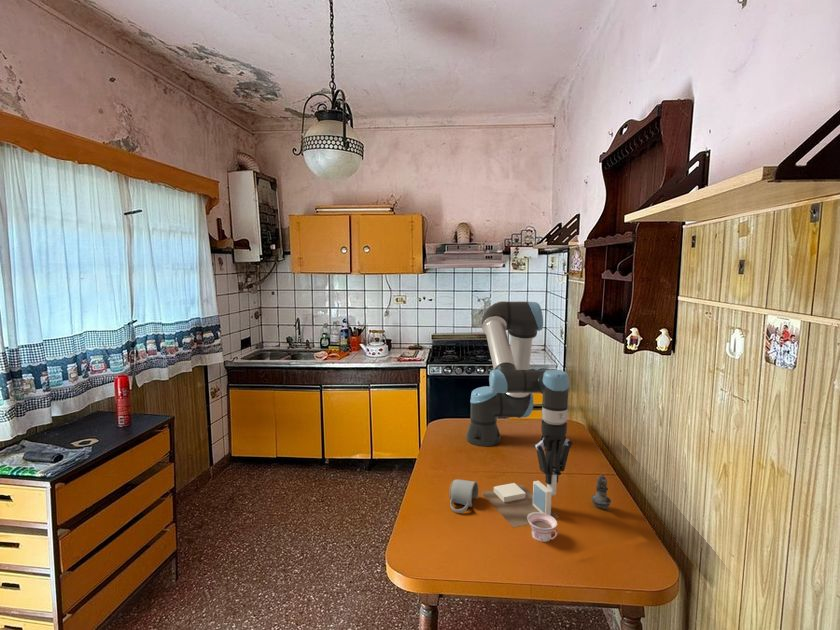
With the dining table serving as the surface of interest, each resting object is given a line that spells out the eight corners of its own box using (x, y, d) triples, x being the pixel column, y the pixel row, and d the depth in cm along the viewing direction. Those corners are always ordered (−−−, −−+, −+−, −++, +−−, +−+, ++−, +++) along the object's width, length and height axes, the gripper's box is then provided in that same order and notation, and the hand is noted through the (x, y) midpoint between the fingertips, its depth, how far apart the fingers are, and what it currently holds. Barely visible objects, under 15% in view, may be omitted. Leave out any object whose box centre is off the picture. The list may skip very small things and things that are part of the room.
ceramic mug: (455, 494, 147) (455, 473, 146) (478, 499, 143) (479, 478, 142) (444, 511, 137) (444, 488, 136) (469, 517, 134) (469, 494, 133)
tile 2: (532, 505, 138) (532, 481, 137) (537, 504, 139) (538, 480, 138) (545, 517, 132) (546, 492, 131) (550, 515, 132) (551, 491, 131)
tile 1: (514, 488, 148) (493, 492, 146) (514, 482, 148) (493, 486, 146) (525, 498, 142) (504, 502, 139) (525, 493, 142) (504, 497, 139)
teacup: (511, 539, 123) (512, 519, 122) (535, 522, 131) (536, 503, 130) (549, 560, 114) (550, 538, 114) (572, 541, 122) (572, 520, 122)
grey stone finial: (586, 506, 139) (588, 471, 138) (600, 503, 142) (602, 468, 140) (600, 516, 134) (602, 480, 133) (614, 512, 136) (616, 476, 135)
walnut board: (480, 495, 146) (480, 491, 146) (521, 487, 151) (521, 484, 151) (513, 531, 126) (513, 527, 126) (559, 521, 132) (559, 517, 131)
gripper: (543, 427, 127) (540, 502, 130) (579, 422, 132) (576, 495, 134) (529, 419, 134) (526, 490, 137) (564, 414, 139) (561, 483, 141)
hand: (551, 492), depth 136 cm, fingers closed
